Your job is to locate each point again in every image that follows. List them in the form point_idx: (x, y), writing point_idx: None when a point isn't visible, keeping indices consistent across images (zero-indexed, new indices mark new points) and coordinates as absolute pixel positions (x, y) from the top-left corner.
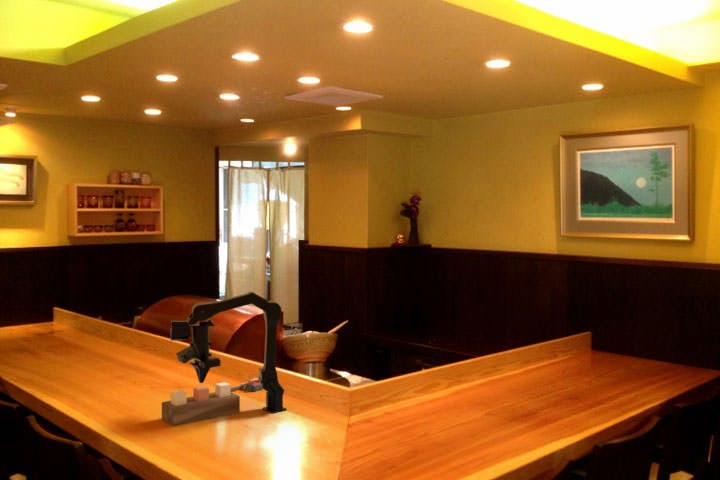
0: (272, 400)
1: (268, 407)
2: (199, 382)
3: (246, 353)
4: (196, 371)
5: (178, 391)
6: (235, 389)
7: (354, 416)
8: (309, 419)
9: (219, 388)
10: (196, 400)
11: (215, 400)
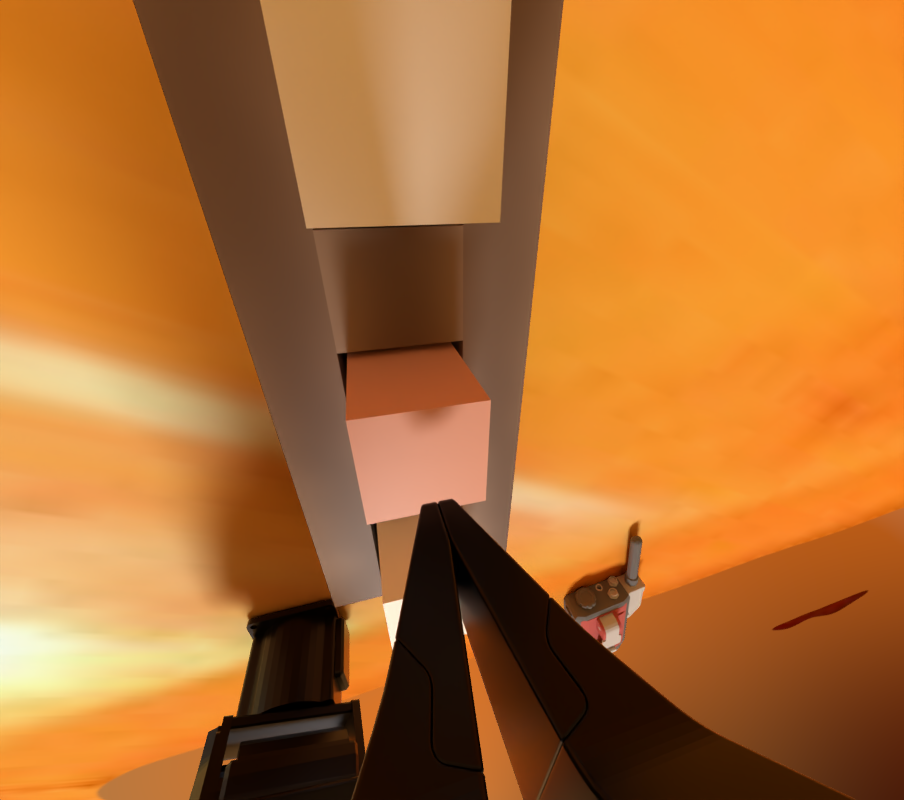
0: (256, 684)
1: (284, 630)
2: (449, 500)
3: (833, 612)
4: (561, 647)
5: (432, 116)
6: (628, 559)
7: (78, 794)
8: (83, 709)
9: (399, 574)
10: (394, 354)
11: (302, 480)
